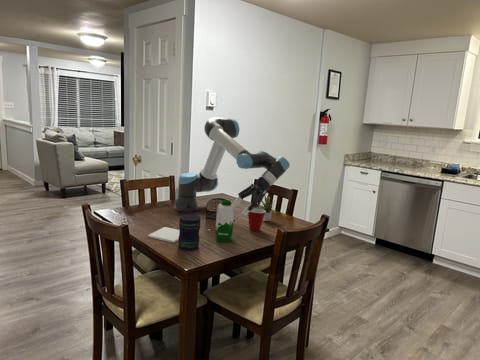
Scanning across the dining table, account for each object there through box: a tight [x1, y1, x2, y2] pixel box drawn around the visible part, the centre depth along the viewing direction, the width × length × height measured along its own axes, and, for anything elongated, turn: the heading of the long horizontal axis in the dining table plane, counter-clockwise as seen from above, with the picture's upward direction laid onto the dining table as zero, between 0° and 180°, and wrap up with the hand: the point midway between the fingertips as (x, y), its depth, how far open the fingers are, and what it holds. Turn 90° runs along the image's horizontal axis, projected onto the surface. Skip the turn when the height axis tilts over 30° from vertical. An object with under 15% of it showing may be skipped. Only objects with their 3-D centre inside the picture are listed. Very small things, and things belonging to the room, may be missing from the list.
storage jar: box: [177, 213, 202, 252], centre depth 164 cm, size 10×10×15 cm
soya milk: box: [215, 199, 235, 243], centre depth 178 cm, size 9×9×20 cm
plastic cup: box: [247, 207, 266, 232], centre depth 197 cm, size 11×11×12 cm
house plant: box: [260, 195, 276, 221], centre depth 217 cm, size 14×14×16 cm
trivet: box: [147, 226, 180, 244], centre depth 179 cm, size 15×15×1 cm
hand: (237, 210), depth 178 cm, fingers open, 13 cm apart
